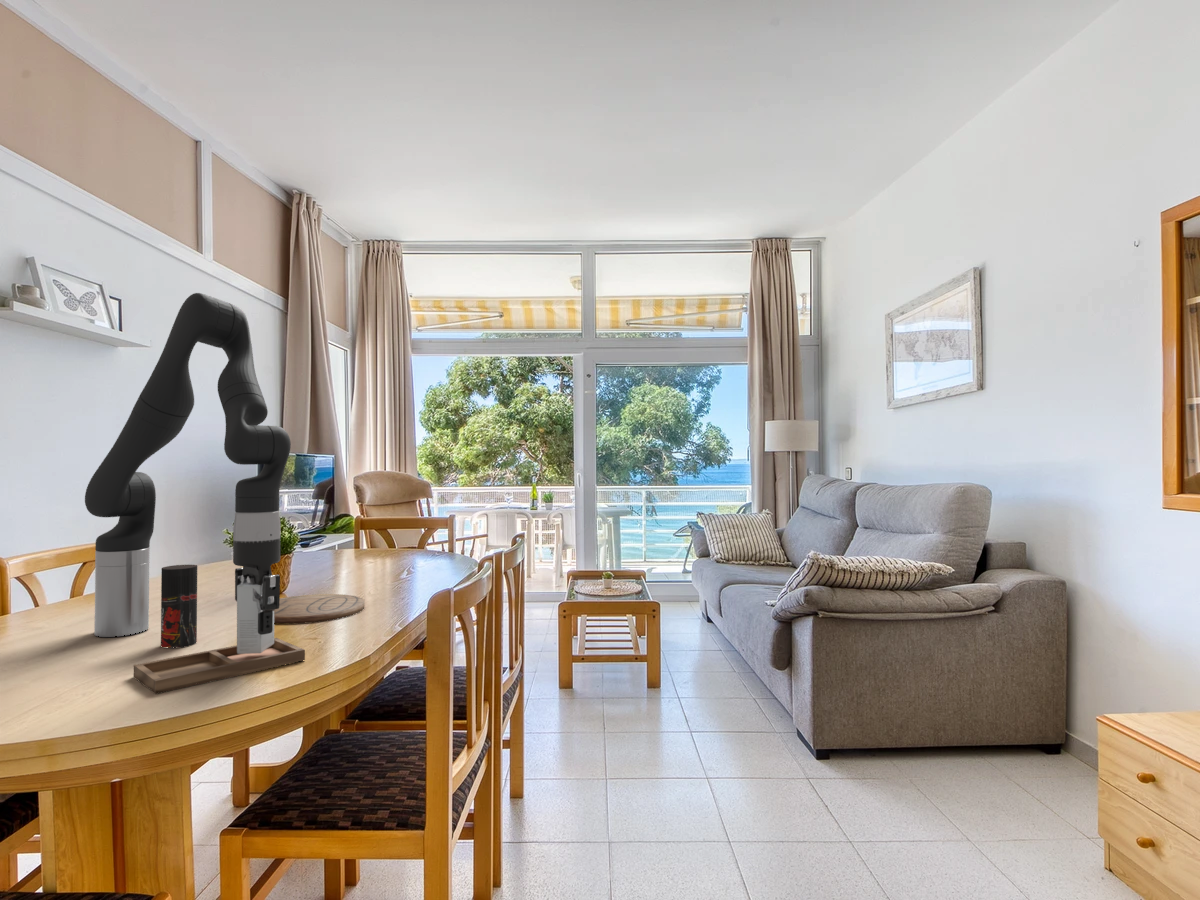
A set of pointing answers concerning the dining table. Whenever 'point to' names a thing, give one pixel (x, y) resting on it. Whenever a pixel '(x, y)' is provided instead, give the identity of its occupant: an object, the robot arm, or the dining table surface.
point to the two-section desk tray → (212, 666)
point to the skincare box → (250, 622)
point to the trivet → (317, 608)
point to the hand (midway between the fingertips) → (256, 629)
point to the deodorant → (178, 606)
